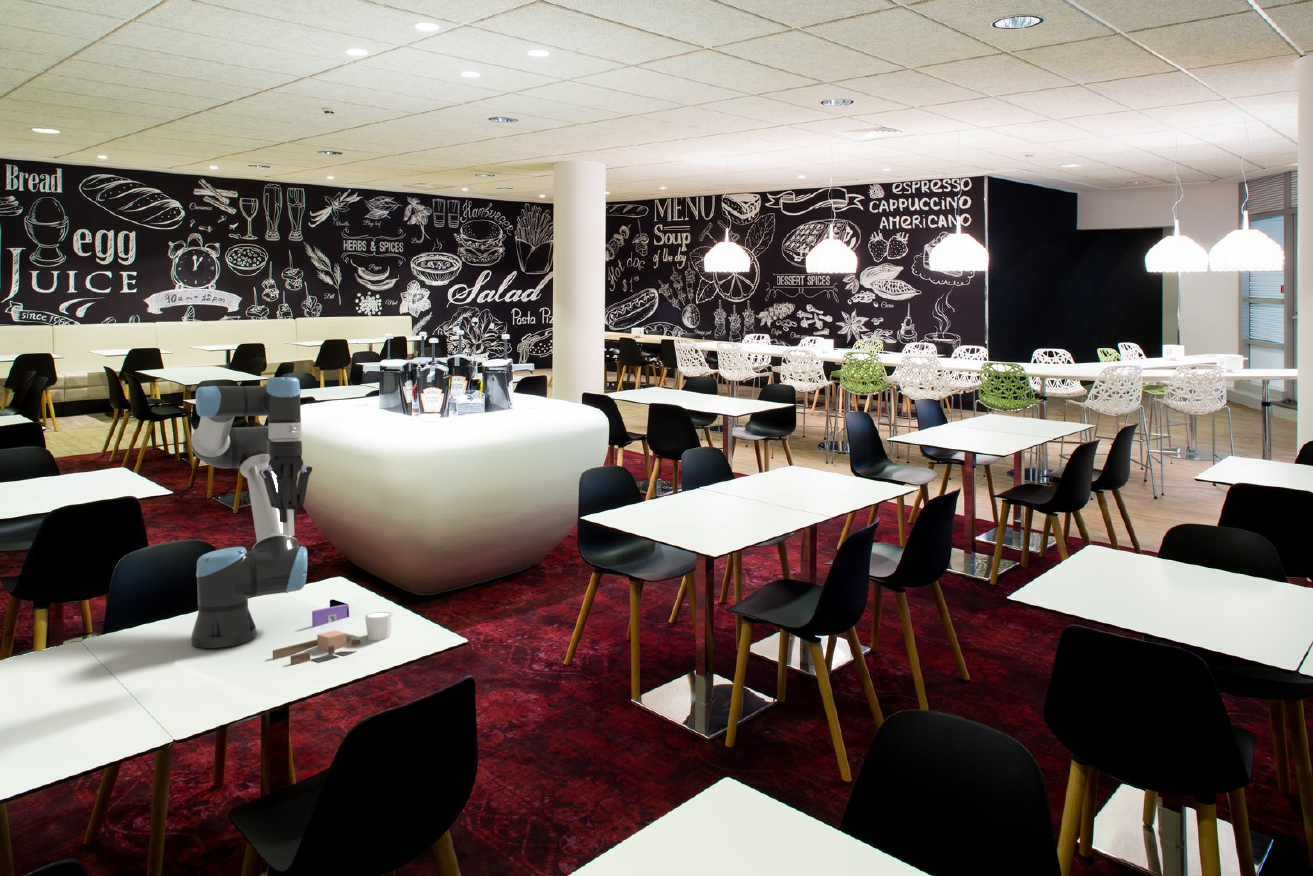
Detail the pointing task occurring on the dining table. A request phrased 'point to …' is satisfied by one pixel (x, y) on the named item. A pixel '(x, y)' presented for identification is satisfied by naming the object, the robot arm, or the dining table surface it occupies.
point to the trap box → (310, 644)
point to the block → (332, 640)
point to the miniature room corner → (330, 613)
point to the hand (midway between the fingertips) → (288, 535)
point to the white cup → (379, 625)
